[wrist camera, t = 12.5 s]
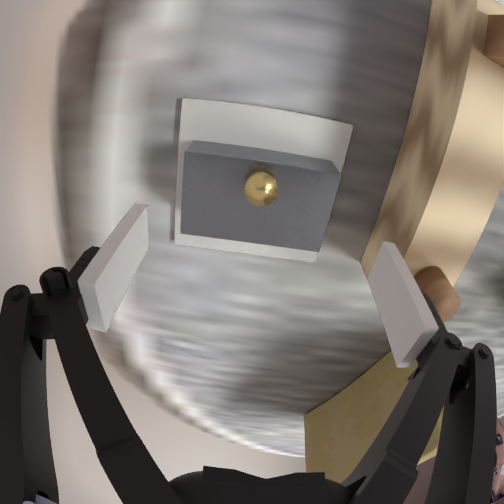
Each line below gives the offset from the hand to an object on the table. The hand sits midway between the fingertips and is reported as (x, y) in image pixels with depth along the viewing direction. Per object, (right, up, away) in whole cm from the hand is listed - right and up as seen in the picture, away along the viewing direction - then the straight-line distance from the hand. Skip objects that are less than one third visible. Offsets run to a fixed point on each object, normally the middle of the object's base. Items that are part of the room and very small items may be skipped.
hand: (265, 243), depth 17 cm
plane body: (+14, +8, +4) cm, 16 cm away
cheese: (+15, -19, +22) cm, 33 cm away
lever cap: (0, +4, +6) cm, 8 cm away
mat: (0, +5, +6) cm, 8 cm away
